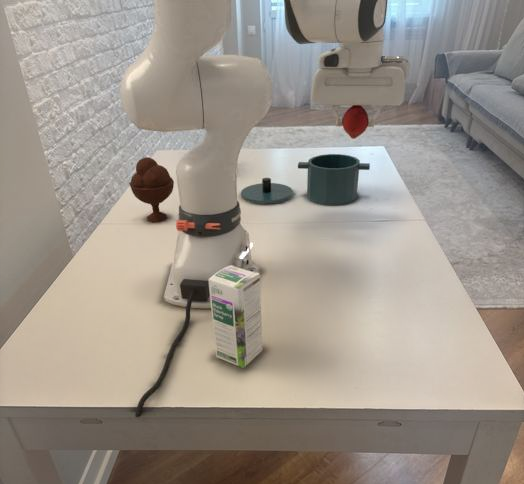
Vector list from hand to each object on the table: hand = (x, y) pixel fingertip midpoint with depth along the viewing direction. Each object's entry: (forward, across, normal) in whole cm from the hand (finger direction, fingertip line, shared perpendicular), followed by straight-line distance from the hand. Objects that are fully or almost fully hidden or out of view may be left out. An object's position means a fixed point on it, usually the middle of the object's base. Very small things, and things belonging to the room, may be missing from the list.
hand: (354, 126), depth 112 cm
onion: (+3, 0, 0) cm, 3 cm away
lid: (+21, +23, -12) cm, 33 cm away
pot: (+22, +5, -14) cm, 26 cm away
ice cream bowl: (+22, +48, +7) cm, 54 cm away
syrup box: (+21, +14, +61) cm, 66 cm away
